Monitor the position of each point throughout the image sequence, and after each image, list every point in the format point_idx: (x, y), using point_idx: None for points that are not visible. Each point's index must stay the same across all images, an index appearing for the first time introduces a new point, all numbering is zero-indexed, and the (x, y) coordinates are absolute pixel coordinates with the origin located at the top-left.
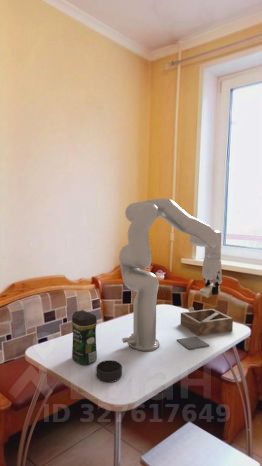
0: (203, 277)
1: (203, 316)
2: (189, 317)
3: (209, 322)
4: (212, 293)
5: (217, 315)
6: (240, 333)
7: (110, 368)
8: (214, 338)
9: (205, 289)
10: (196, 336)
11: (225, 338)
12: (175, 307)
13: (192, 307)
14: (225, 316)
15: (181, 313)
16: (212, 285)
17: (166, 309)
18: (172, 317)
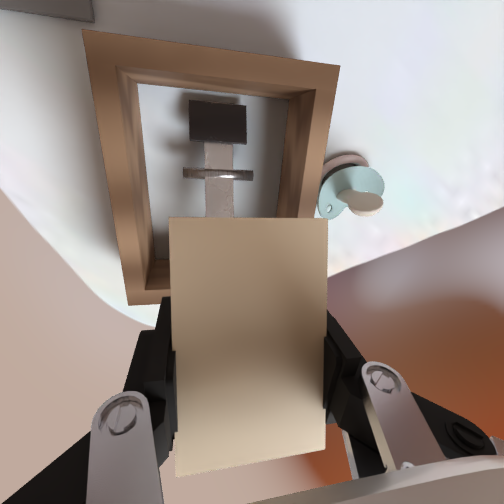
0: (494, 465)
1: None
2: (228, 54)
3: (102, 140)
4: (164, 302)
5: None
6: (100, 282)
7: None
8: (60, 126)
9: (255, 274)
10: (87, 18)
11: (50, 183)
12: (477, 212)
13: (370, 212)
14: (168, 288)
15: (328, 64)
16: (259, 407)
17: (492, 157)
18: (404, 112)
